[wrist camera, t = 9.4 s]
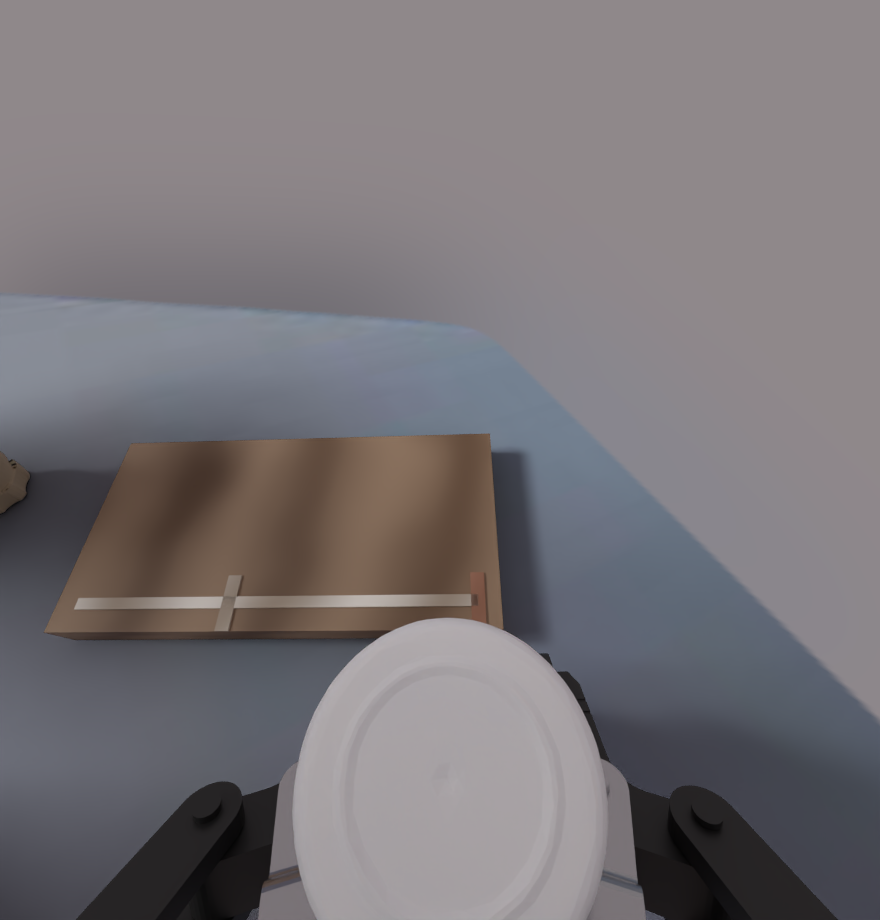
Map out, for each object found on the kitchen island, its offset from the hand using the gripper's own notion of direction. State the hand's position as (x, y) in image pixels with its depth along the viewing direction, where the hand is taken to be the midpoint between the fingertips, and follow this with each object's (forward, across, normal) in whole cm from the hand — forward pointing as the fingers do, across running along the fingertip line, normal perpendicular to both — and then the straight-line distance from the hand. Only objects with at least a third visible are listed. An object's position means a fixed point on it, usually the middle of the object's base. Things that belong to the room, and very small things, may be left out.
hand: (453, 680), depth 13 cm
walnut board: (+10, +8, -1) cm, 12 cm away
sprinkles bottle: (+3, 0, +6) cm, 7 cm away
